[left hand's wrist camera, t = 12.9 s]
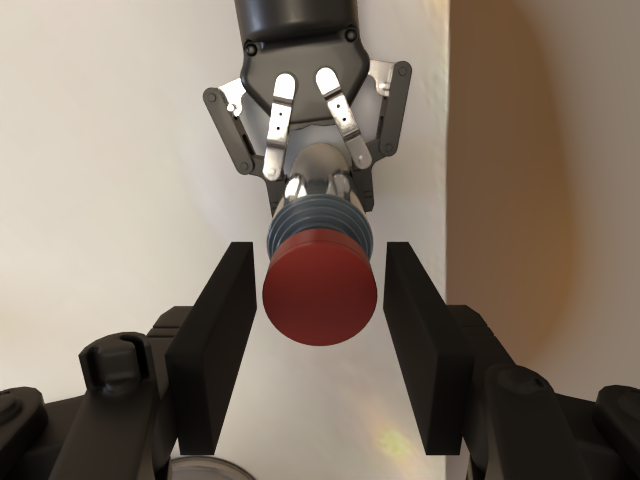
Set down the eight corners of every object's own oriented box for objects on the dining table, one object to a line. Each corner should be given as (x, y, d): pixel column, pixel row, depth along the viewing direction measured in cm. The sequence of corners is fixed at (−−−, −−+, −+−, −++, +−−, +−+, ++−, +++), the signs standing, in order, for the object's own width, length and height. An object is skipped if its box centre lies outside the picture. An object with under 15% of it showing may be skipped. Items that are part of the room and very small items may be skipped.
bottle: (353, 150, 34) (408, 245, 13) (338, 202, 36) (367, 362, 14) (299, 136, 34) (265, 210, 12) (287, 189, 35) (238, 335, 14)
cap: (384, 241, 14) (392, 259, 13) (355, 330, 15) (359, 356, 14) (280, 216, 14) (275, 231, 12) (259, 309, 15) (252, 333, 14)
